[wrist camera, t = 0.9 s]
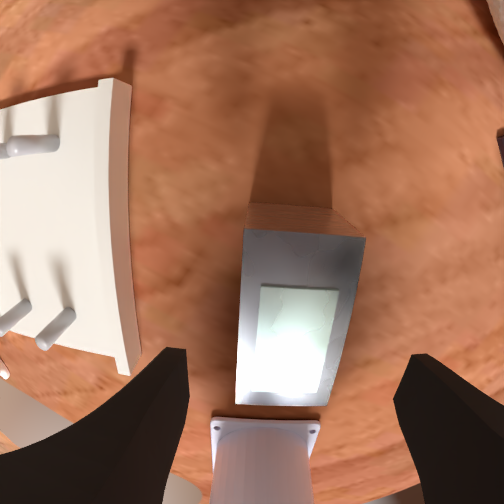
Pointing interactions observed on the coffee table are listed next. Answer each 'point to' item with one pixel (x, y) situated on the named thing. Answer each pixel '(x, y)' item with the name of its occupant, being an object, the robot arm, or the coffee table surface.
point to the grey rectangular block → (294, 303)
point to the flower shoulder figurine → (4, 370)
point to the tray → (68, 222)
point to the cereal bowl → (498, 15)
